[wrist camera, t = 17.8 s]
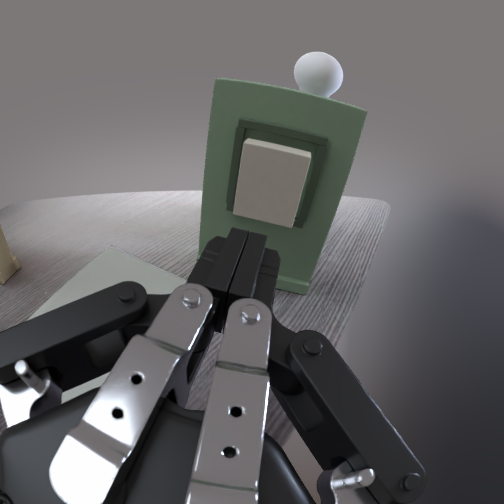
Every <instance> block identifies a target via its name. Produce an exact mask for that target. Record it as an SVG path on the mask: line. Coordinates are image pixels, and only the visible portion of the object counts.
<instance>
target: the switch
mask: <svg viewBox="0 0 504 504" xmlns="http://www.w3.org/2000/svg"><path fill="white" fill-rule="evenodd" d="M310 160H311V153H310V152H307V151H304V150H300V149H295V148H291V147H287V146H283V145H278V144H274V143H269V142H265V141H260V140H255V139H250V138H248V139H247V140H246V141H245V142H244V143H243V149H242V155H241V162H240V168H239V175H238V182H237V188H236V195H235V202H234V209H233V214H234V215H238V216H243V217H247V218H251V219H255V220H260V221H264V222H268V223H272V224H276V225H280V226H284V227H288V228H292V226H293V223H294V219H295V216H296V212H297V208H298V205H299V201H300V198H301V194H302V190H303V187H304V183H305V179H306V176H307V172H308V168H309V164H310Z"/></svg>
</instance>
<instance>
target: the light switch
mask: <svg viewBox="0 0 504 504" xmlns="http://www.w3.org/2000/svg"><path fill="white" fill-rule="evenodd" d="M124 281H134V282H137V283H139V284H141V285H142V286H143V287H144V288H145V289H146V292H147V294H170V293H172V292H173V291H174V289H176V288H177V287H178V286H180V285H183V284H185V283H186V282H187V280H185V279H183V278H181V277H178V276H176V275H174V274H172V273H170V272H167V271H165V270H163V269H161V268H159V267H157V266H154V265H152V264H150V263H148V262H146V261H144V260H142V259H140V258H138V257H136V256H133V255H131V254H129V253H127V252H125V251H123V250H121V249H119V248H117V247H115V246H113V245H111V246H109V247H108V248H107V249H105V250H104V251H103V252H102V253H100V254H99V255H98V256H97V257H96V258H94V259H93V260H92V261H91V262H90V263H88V264H87V265H86V266H85V267H84V268H83V269H81V270H80V271H79V272H78V273H77V274H76V275H75V276H73V277H72V278H71V279H70V280H69V281H68V282H67V283H66V284H64V285H63V286H62V287H61V288H60V289H59V290H58V291H57V292H56V293H55V294H54V295H52V296H51V297H50V298H49V299H48V300H47V301H46V302H45V303H44V304H43V305H42V306H41V307H40V308H39V309H38V310H37V311H36V312H35V313H34V314H33V315H32V316H31V317H30V318H29V319H28V320H30V319H32V318H35V317H37V316H39V315H42V314H44V313H46V312H49V311H51V310H54V309H56V308H58V307H61V306H63V305H66V304H68V303H71V302H73V301H75V300H78V299H80V298H83V297H85V296H88V295H90V294H93V293H95V292H98V291H100V290H103V289H105V288H108V287H110V286H113V285H115V284H118V283H120V282H124ZM109 373H110V372H109ZM109 373H106V374H104V375H102V376H100V377H98V378H95V379H93V380H91V381H89V382H86V383H84V384H82V385H79V386H77V387H75V388H72V389H70V390H68V391H65V392H63V393H62V398H61V399H62V403H64V402H66V401H68V400H71V399H73V398H75V397H77V396H79V395H81V394H83V393H85V392H87V391H89V390H91V389H94V388H97V387H100V386H102V384H103V383H104V381H105V380H106V378H107V376H108V375H109ZM62 403H61V404H62Z"/></svg>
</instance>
